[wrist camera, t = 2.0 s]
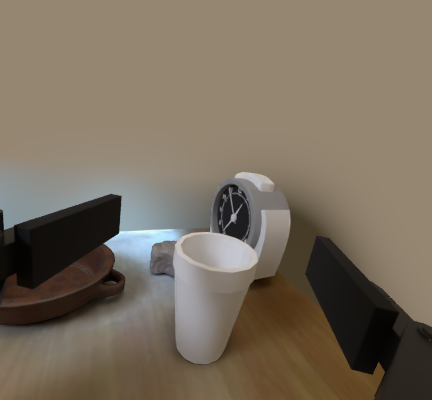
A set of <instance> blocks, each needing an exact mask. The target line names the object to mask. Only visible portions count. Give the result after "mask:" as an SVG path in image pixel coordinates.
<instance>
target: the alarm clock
mask: <svg viewBox="0 0 432 400" xmlns="http://www.w3.org/2000/svg"><path fill="white" fill-rule="evenodd" d="M290 223H291V222H290V211H289V207H288V203H287V200H286V198H285V196H284V195H283V193H282V191H281V190H280V189H279V188H278V187H277V186H276V185H275V184H274V183H273V182H272V181H271V180H270V179H269V178H268V177H266V176H263V175H261V174H256V173H247V172H242V173H239V174H236V176H235V178H230V179H227V180H225V181H224V182H223V183H222V184H221V185H220V186H219V187H218V189H217V190H216V193H215V195H214V197H213V201H212V205H211V228H210V233H218V234H224V235H227V236H230V237H234V238H237V239H239V240H241V241H242V242H244V243H246V244H248V245H249V246H250V247H251V248H252V249H253V250H254V251H255V252H256V253H257V260H258V263H257V267H256V271H255V276H254V280H256V279H261V278H265V277H270V276H274V275H275V273H276V271H277V268H278V266H279V264H280V262H281V259H282V256H283V253H284V251H285V248H286V244H287V240H288V237H289V230H290Z"/></svg>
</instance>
